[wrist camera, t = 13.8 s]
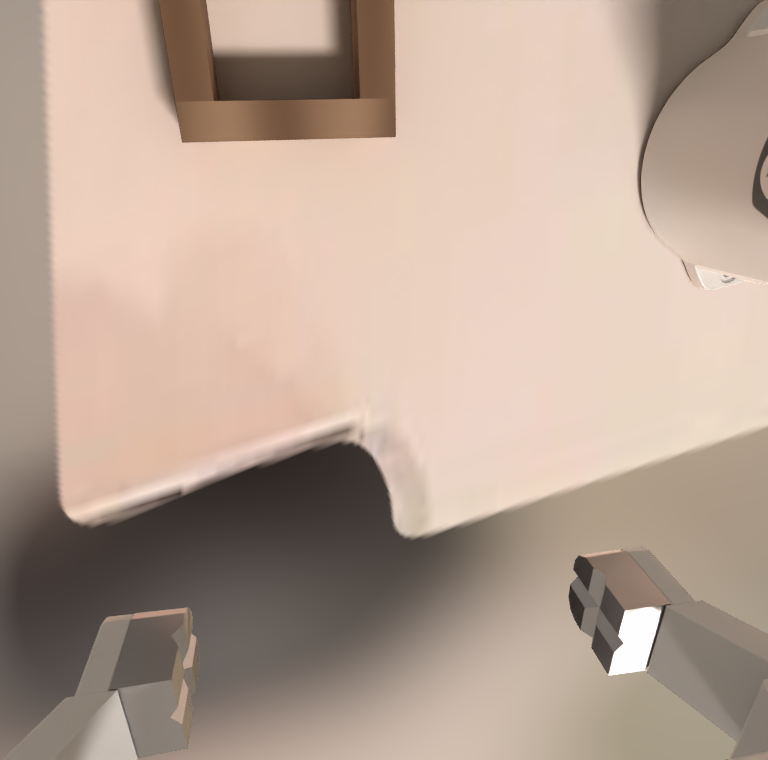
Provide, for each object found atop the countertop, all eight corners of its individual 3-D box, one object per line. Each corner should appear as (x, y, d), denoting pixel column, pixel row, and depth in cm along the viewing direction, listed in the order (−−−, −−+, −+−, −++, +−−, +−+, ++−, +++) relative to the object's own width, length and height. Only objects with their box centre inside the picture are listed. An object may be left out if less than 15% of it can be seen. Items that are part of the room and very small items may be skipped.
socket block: (382, -108, 29) (392, -133, 26) (386, 136, 34) (395, 136, 31) (149, -117, 27) (134, -145, 25) (190, 141, 32) (182, 142, 30)
